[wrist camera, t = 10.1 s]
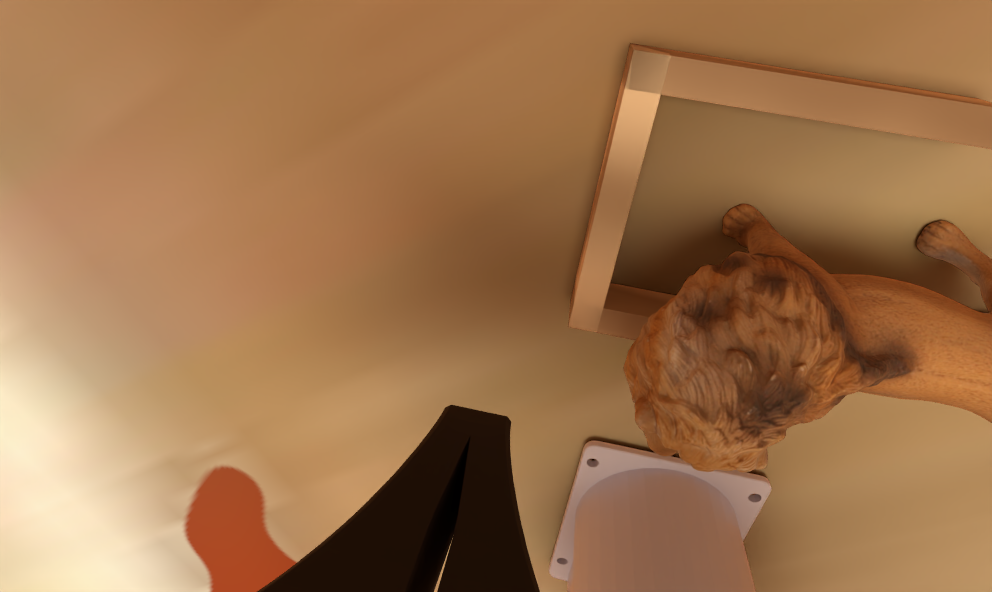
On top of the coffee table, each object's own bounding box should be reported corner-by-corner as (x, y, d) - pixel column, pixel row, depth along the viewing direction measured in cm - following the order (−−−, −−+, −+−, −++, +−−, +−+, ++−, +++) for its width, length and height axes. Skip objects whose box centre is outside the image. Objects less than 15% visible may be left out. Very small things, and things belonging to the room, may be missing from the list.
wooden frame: (838, 351, 20) (861, 385, 19) (570, 299, 21) (568, 327, 19) (978, 98, 16) (1024, 111, 14) (629, 43, 17) (633, 49, 15)
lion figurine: (614, 329, 21) (624, 523, 14) (619, 198, 19) (635, 344, 11) (1051, 341, 19) (1366, 586, 11) (1125, 191, 16) (1599, 374, 9)
